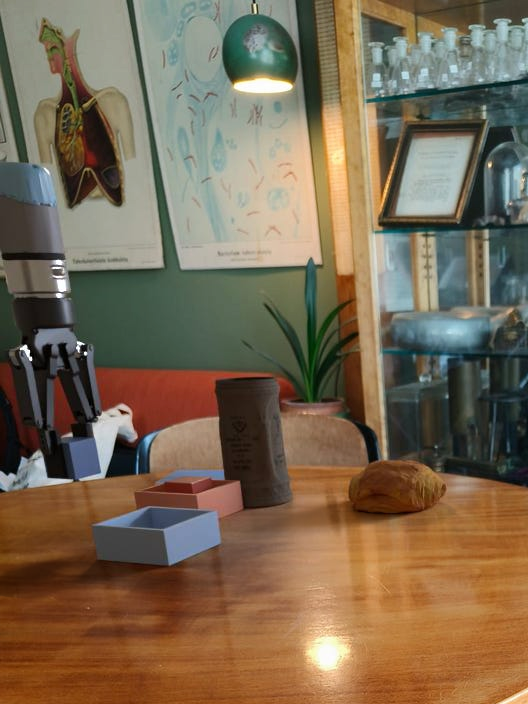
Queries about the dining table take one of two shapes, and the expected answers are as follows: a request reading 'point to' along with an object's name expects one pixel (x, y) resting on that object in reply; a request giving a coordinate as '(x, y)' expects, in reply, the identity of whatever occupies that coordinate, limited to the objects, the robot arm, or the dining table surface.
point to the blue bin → (156, 535)
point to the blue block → (79, 457)
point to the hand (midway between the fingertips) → (73, 473)
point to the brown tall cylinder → (253, 439)
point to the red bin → (195, 498)
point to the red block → (188, 485)
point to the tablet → (194, 474)
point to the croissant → (395, 487)
